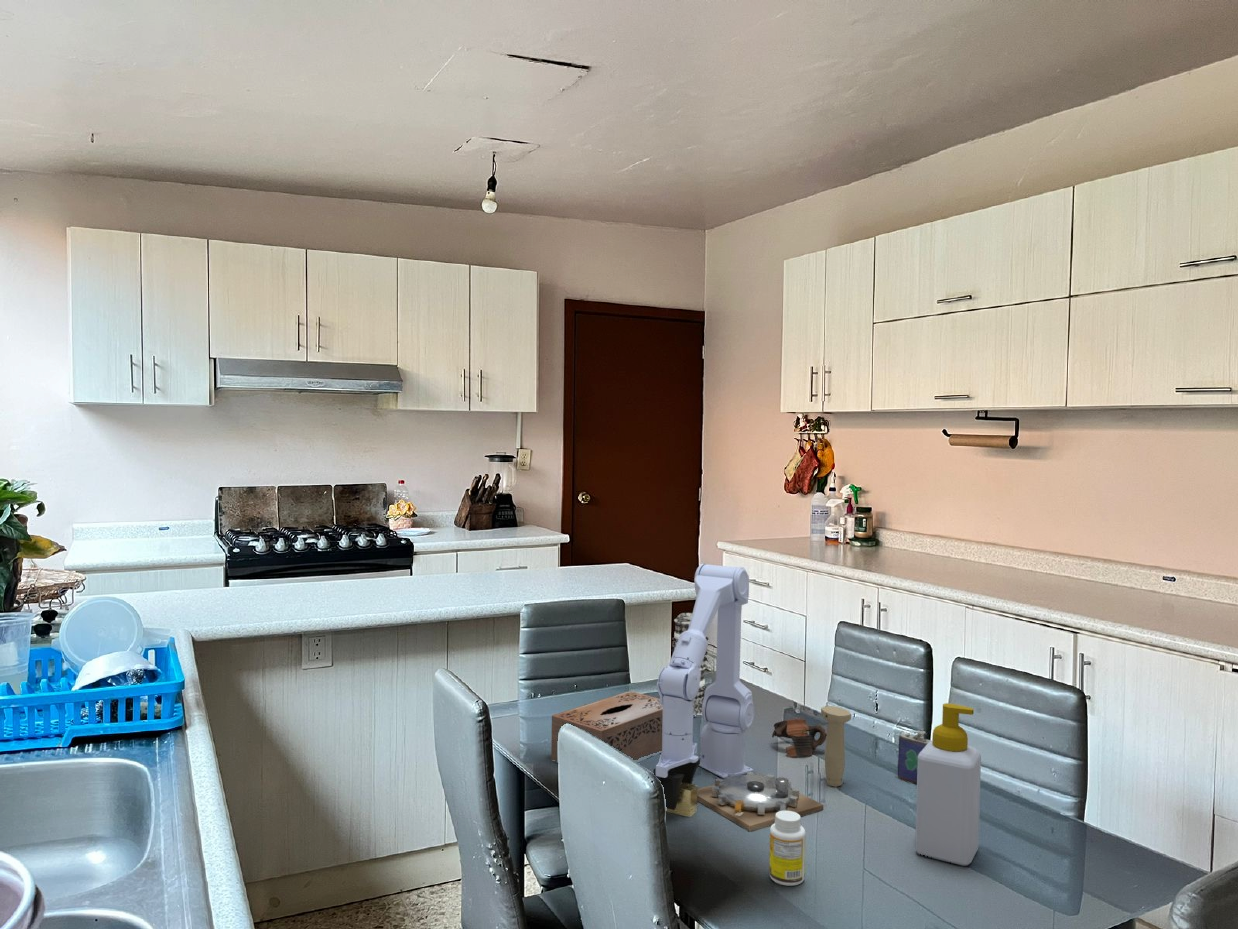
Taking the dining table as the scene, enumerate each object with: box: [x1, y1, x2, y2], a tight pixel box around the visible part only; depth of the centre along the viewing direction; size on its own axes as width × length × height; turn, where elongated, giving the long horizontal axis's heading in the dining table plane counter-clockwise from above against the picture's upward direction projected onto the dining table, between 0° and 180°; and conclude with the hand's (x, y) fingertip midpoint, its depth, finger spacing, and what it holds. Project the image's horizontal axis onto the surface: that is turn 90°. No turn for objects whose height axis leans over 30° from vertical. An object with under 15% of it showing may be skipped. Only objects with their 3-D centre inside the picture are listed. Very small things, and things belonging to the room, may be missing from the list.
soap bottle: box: [914, 702, 982, 866], centre depth 152 cm, size 9×9×25 cm
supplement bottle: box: [769, 811, 806, 887], centre depth 142 cm, size 6×6×10 cm
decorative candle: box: [671, 612, 709, 716], centre depth 226 cm, size 9×9×25 cm
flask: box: [897, 730, 932, 785], centre depth 183 cm, size 9×3×11 cm, turn 50°
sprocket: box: [712, 771, 800, 815], centre depth 172 cm, size 16×16×4 cm
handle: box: [820, 705, 852, 788], centre depth 181 cm, size 5×6×15 cm
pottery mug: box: [771, 718, 827, 758], centre depth 201 cm, size 12×10×8 cm
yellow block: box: [666, 781, 698, 818], centre depth 168 cm, size 7×3×5 cm, turn 62°
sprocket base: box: [697, 773, 824, 832], centre depth 172 cm, size 18×18×1 cm
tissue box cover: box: [550, 690, 663, 763], centre depth 197 cm, size 26×14×10 cm, turn 139°
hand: (676, 802), depth 168 cm, fingers open, 5 cm apart
